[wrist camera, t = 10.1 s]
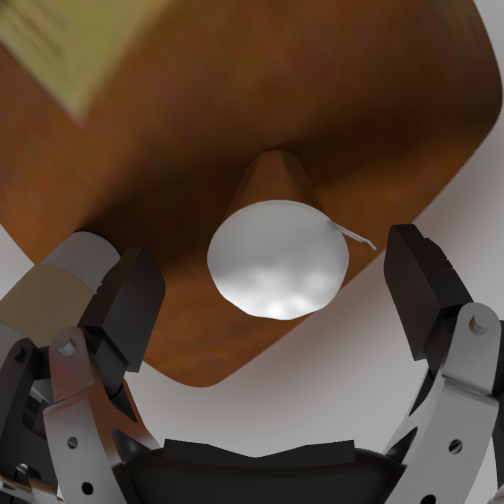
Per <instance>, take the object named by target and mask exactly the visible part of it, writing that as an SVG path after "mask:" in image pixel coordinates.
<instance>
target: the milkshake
mask: <svg viewBox="0 0 504 504" xmlns="http://www.w3.org/2000/svg"><path fill="white" fill-rule="evenodd" d="M341 232H342V233H344V234H346V235H348V236H350V237H352V238H353V239H355V240H357V241H359V242H361V243H362V244H364V245H366V246H368V247H370V248H371V249H373V250H375V251H376V248H375V247H374V246H373V245H372V243H371V242H370V241H369V240H368V239H366V238H364V237H362V236H360V235H358V234H357V233H355V232H353V231H351V230H349V229H347V228H345V227H343V226H341V225H339V224H337V223H335V221H334V219H333V218H332V216H331V214H330V213H329V211H328V209H327V207H326V206H325V204H324V202H323V201H322V199H321V198H320V196H319V195H318V193H317V192H316V190H315V188H314V187H313V185H312V183H311V181H310V179H309V177H308V176H307V174H306V172H305V170H304V168H303V166H302V164H301V162H300V160H299V159H298V157H297V156H295V155H293V154H291V153H288V152H286V151H284V150H282V149H276V150H270V151H264V152H261V153H260V154H259V155H258V156H257V157H256V158H255V160H254V161H253V162H252V163H251V164H250V165H249V166H248V168H247V171H246V173H245V175H244V177H243V179H242V181H241V183H240V185H239V187H238V189H237V192H236V194H235V196H234V198H233V200H232V203H231V204H230V206H229V208H228V210H227V212H226V214H225V216H224V218H223V219H222V221H221V223H220V225H219V227H218V229H217V231H216V233H215V234H214V236H213V238H212V240H211V243H210V246H209V249H208V254H207V264H208V268H209V271H210V273H211V276H212V278H213V280H214V282H215V285H216V287H217V288H218V290H219V292H220V293H221V294H222V295H223V296H224V297H225V298H226V299H227V300H228V301H230V302H231V303H233V304H234V305H236V306H237V307H239V308H240V309H242V310H243V311H244V312H246V313H248V314H250V315H254V316H260V317H269V318H275V319H281V320H289V319H294V318H297V317H300V316H302V315H305V314H308V313H310V312H313V311H316V310H319V309H321V308H323V307H325V306H326V305H327V304H328V303H329V302H330V301H331V300H332V299H333V298H334V296H335V295H336V294H337V292H338V290H339V289H340V287H341V284H342V282H343V279H344V276H345V274H346V271H347V268H348V263H349V253H348V248H347V244H346V242H345V239H344V237H343V235H342V233H341Z"/></svg>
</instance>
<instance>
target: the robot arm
mask: <svg viewBox="0 0 504 504" xmlns="http://www.w3.org/2000/svg"><path fill="white" fill-rule="evenodd" d="M384 276H385V280H386V283H387V285H388V288H389V290H390V293H391V295H392V298H393V301H394V303H395V306H396V308H397V311H398V314H399V317H400V319H401V322H402V325H403V328H404V331H405V334H406V337H407V339H408V342H409V346H410V349H411V352H412V356H413V359H414V361H417V360H421V359H427V362H428V367H427V369H426V371H425V373H424V376H423V378H422V381H421V383H420V385H419V388H418V390H417V393H416V395H415V397H414V399H413V401H412V403H411V405H410V408H409V410H408V412H407V414H406V416H405V418H404V420H403V421H402V423H401V425H400V426H399V428H398V429H397V430H396V432H395V433H394V435H393V437H392V438H391V439H390V441H389V443H388V444H387V446H386V448H385V450H384V451H383V453H382V454H381V453H377V452H374V451H371V450H366V449H361V448H355V446H354V440H348V441H342V442H333V443H324V444H314V445H305V446H301V447H298V448H294V449H291V450H287V451H283V452H279V453H275V454H271V455H267V456H263V457H257V458H253V457H248V456H245V455H241V454H237V453H234V452H231V451H227V450H224V449H221V448H218V447H215V446H212V445H209V444H201V443H193V442H185V441H178V440H171V439H165V443H164V447H163V448H161V447H160V446H159V444H158V442H157V441H156V439H155V438H154V437H153V436H152V434H151V433H149V431H148V430H147V428H146V427H145V425H144V423H143V421H142V418H141V416H140V414H139V412H138V409H137V407H136V404H135V402H134V400H133V397H132V395H131V392H130V390H129V387H128V384H127V382H126V380H125V379H124V378H123V377H124V374H125V371H128V372H136V373H138V372H139V369H140V366H141V363H142V360H143V357H144V354H145V351H146V348H147V345H148V342H149V339H150V336H151V333H152V330H153V327H154V324H155V321H156V319H157V316H158V313H159V310H160V308H161V305H162V302H163V299H164V297H165V281H164V278H163V276H162V274H161V272H160V269H159V267H158V265H157V262H156V260H155V257H154V255H153V253H152V250H151V249H150V248H149V247H148V246H141V247H132V248H127V249H126V250H125V252H124V253H123V255H122V257H121V258H120V260H119V261H118V263H116V264H115V265H114V266H113V267H112V268H111V269H110V270H109V271H108V272H107V273H106V275H105V276H104V278H103V280H102V281H101V283H100V286H98V288H97V290H96V292H95V295H93V297H92V299H91V300H90V302H89V304H88V306H87V308H86V309H85V311H84V313H83V315H82V317H81V319H80V321H79V322H78V324H77V326H76V327H75V326H72V327H68V328H65V329H63V330H62V331H60V332H59V333H58V334H57V335H56V336H55V337H54V339H53V340H52V342H51V344H50V345H49V346H45V347H40V348H38V347H37V346H36V345H35V344H34V343H33V342H32V340H31V339H29V338H22V339H20V340H18V341H17V342H16V343H15V344H14V345H13V346H12V347H11V349H10V351H9V353H8V355H7V357H6V359H5V361H4V363H3V365H2V368H1V370H0V504H464V502H465V500H466V498H467V496H468V494H469V492H470V490H471V488H472V485H473V483H474V481H475V479H476V476H477V474H478V471H479V469H480V466H481V464H482V461H483V459H484V456H485V453H486V450H487V447H488V445H489V441H490V438H491V435H492V439H493V445H494V452H495V460H496V470H497V482H498V491H497V493H496V494H495V496H494V497H493V498H491V499H490V500H489V502H488V503H487V504H504V321H502V320H499V318H498V317H497V315H496V313H495V312H494V311H493V310H492V309H491V308H489V307H488V306H486V305H484V304H481V303H477V302H474V301H473V299H472V298H471V296H470V294H469V292H468V291H467V289H466V287H465V286H464V284H463V282H462V281H461V279H460V278H459V276H458V274H457V273H456V271H455V270H454V269H453V266H452V265H451V263H450V262H449V260H447V257H446V256H445V254H444V253H443V251H442V250H441V248H440V247H439V246H438V245H437V244H435V243H434V242H433V241H431V240H430V239H429V238H424V237H423V236H422V234H421V233H420V232H419V230H418V229H417V227H416V226H415V225H414V224H400V225H392V226H391V227H390V230H389V236H388V242H387V249H386V255H385V261H384ZM31 389H32V390H33V391H34V392H36V393H37V394H38V395H39V396H40V397H42V398H43V399H42V402H41V405H40V408H39V411H38V414H37V417H36V421H35V424H34V427H33V429H32V431H30V430H28V429H27V428H26V427H25V426H24V424H23V422H22V414H23V411H24V408H25V405H26V402H27V399H28V396H29V393H30V391H31ZM58 483H59V486H60V490H61V493H62V496H63V498H64V501H65V503H64V501H63V499H62V498H60V497H58V496H56V495H57V489H58Z"/></svg>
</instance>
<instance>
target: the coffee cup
mask: <svg viewBox="0 0 504 504" xmlns="http://www.w3.org/2000/svg"><path fill="white" fill-rule="evenodd" d="M119 260H120V256H119V254H118V252H117V251H116V249H115V248H114V247H113V246H112V245H111V244H110V243H109V242H108V241H107V240H105V239H104V238H102V237H100V236H98V235H96V234H93V233H90V232H76V233H73V234H72V235H70V236H69V237H68V238H67V239H66V240H64V241H63V242H62V243H61V244H60V245H59V246H58V247H57V248H55V249H54V250H53V251H52V252H51V253H50V254H49V255H48V256H47V257H46V258H45V259H43V260H42V261H41V262H40V263H39V264H38V265H35V266H34V267H32V268H31V269H30V270H29V271H28V272H27V273H26V274H25V275H24V276H23V277H22V278H21V279H20V280H19V281H18V282H17V283H16V285H15V286H14V287H13V288H12V289H11V290H10V291H9V292H8V293H7V294H6V295H5V296H4V297H3V299H2V300H1V301H0V370H1V368H2V365H3V363H4V361H5V359H6V357H7V355H8V353H9V351H10V349H11V347H12V346H13V345H14V344H15V343H16V342H17V341H18V340H20V339H22V338H29V339H31V340H32V342H33V343H34V344H35V345H36V346H37V347H38V348H40V347H45V346H49V345H50V344H51V342H52V340H53V339H54V337H55V336H56V335H57V334H58V333H59V332H60V331H62V330H63V329H65V328H68V327H72V326H75V327H76V326H77V324H78V322H79V321H80V319H81V317H82V315H83V313H84V311H85V309H86V308H87V306H88V304H89V302H90V300H91V299H92V297H93V295H95V292H96V290H97V288H98V286H100V283H101V281H102V280H103V278H104V276H105V275H106V273H107V272H108V271H109V270H110V269H111V268H112V267H113V266H114V265H115V264H116V263H118V261H119ZM42 399H43V398H42V397H40V396H39V395H38V394H37V393H36V392H34V391H33V390H32V389H31V391H30V393H29V396H28V399H27V402H26V405H25V408H24V411H23V414H22V422H23V424H24V426H25V427H26V428H27V429H28V430H30V431H32V429H33V427H34V424H35V421H36V417H37V414H38V411H39V408H40V405H41V402H42Z"/></svg>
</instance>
